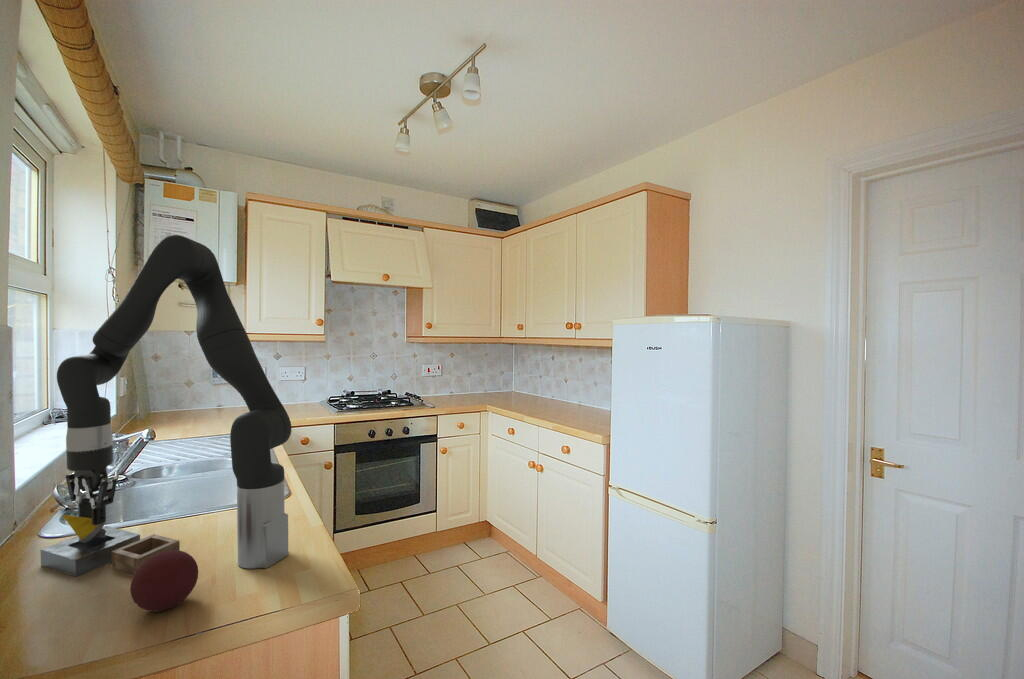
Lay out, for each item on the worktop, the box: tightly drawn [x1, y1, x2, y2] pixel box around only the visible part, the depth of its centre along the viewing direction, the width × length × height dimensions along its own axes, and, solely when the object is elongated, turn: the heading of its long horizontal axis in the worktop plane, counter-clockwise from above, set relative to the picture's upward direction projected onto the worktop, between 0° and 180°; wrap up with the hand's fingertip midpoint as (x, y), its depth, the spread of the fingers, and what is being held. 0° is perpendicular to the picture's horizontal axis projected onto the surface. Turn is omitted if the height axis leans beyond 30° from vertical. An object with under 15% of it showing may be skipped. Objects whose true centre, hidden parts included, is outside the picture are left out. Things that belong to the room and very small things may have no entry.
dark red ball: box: [129, 549, 199, 612], centre depth 84 cm, size 10×10×10 cm
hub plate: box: [40, 525, 141, 578], centre depth 101 cm, size 12×12×4 cm
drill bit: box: [62, 514, 107, 543], centre depth 100 cm, size 5×5×10 cm
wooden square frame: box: [111, 533, 181, 575], centre depth 100 cm, size 8×8×4 cm
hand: (92, 521), depth 101 cm, fingers closed on drill bit, 4 cm apart
